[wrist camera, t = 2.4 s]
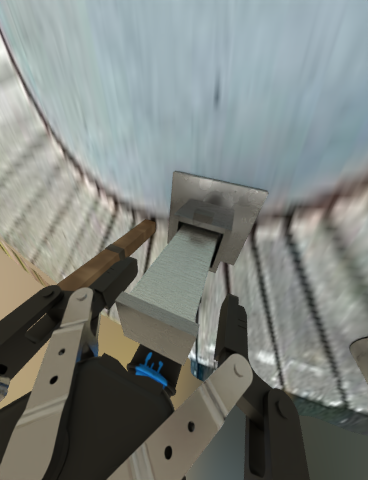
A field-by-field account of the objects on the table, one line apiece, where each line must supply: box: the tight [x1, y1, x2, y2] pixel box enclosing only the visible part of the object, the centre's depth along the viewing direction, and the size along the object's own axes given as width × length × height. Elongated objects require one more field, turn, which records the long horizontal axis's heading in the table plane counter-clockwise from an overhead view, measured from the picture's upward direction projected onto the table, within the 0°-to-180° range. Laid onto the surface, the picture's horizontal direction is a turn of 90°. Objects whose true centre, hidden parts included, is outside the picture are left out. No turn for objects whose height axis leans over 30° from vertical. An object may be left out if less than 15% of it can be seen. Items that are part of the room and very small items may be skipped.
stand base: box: [167, 171, 268, 273], centre depth 19 cm, size 12×12×7 cm
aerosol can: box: [127, 298, 201, 397], centre depth 26 cm, size 8×8×20 cm
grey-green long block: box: [115, 223, 219, 366], centre depth 15 cm, size 5×5×16 cm
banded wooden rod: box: [57, 219, 156, 291], centre depth 20 cm, size 2×2×16 cm
